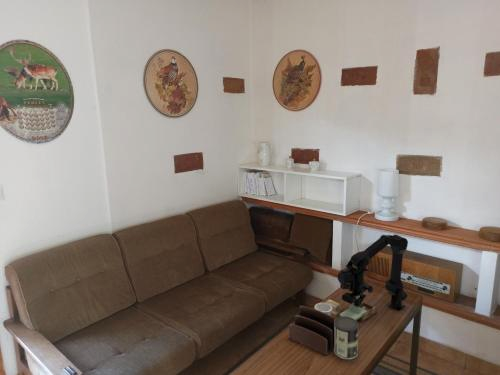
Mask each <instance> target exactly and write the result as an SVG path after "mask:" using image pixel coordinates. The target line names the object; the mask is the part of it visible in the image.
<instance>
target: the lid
mask: <svg viewBox="0 0 500 375" xmlns="http://www.w3.org/2000/svg"><path fill="white" fill-rule="evenodd" d="M353 304H354V303H352V304H350V303H349V305H348V307H349V309H348V308H347V309H345V310H344V311H343V312H340V313H339V317H350V318H353V319H355V320H356V321H358V318H360V317H361V316H363V314H364V313H366V312H367V311H366V310H364V309H362V308H360V307H357V306H355V305H353Z"/></svg>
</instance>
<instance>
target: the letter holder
mask: <svg viewBox="0 0 500 375" xmlns="http://www.w3.org/2000/svg"><path fill="white" fill-rule="evenodd" d="M298 309H299V315H298V314H295V315H294V320H293V321H294V323H292V324H291V323H290V324H289V325H288V339H289V340H291V341H294V342H296V343H297V344H301V345H303V346H304V347H306V348H309V349H311V350H313V351H315V352H317V353H320V354H322V355H324V356H326V357H328V355H329V354H330V353H331V352H332V351H334V320H335V319H336V317H333V316H332V315H331V316H330V315H328V314H326V313H323V312H321V311H318V310H315V308H311V307H310V306H309V307H308V306H305V305H300V306H299V307H298Z"/></svg>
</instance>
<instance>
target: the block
mask: <svg viewBox="0 0 500 375" xmlns="http://www.w3.org/2000/svg"><path fill="white" fill-rule="evenodd" d="M324 303H327V304H329V305H331V306H332V310H331V315H332V314H333V315H335V316H336V315H338V314H341V304H340V303H338V302H336V301H333V300H331V299H330V298H329V299H327V300H326V301H324Z"/></svg>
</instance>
